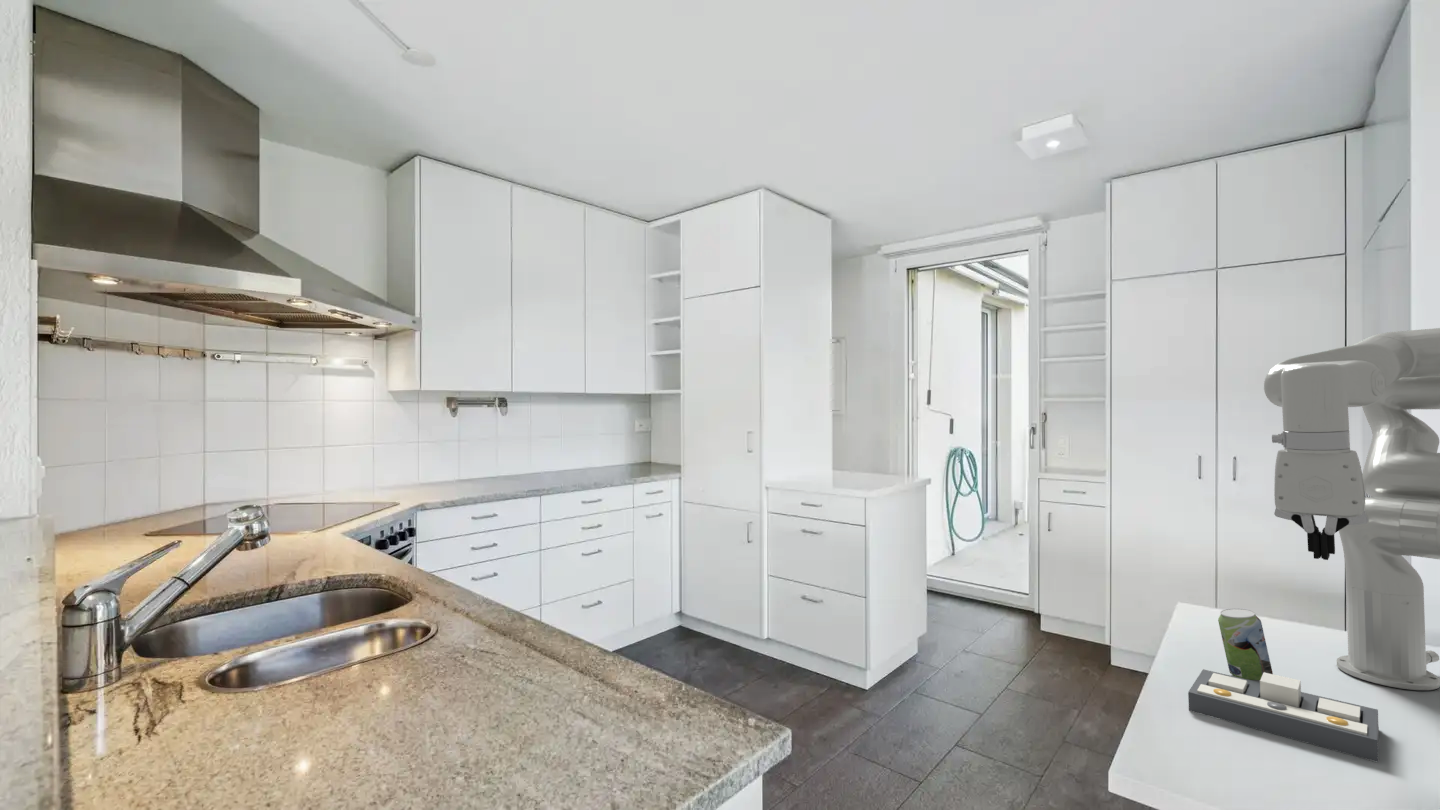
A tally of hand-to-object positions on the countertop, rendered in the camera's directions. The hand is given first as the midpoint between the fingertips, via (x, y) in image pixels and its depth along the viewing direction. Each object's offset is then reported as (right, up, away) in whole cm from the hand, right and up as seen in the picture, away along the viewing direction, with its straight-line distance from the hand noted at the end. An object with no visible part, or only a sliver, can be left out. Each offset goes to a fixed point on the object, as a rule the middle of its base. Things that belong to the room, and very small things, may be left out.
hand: (1321, 557), depth 98 cm
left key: (-11, -24, +4) cm, 27 cm away
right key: (-3, -24, -5) cm, 25 cm away
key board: (-8, -25, -2) cm, 26 cm away
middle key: (-7, -22, -1) cm, 23 cm away
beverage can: (-1, -25, +13) cm, 28 cm away
